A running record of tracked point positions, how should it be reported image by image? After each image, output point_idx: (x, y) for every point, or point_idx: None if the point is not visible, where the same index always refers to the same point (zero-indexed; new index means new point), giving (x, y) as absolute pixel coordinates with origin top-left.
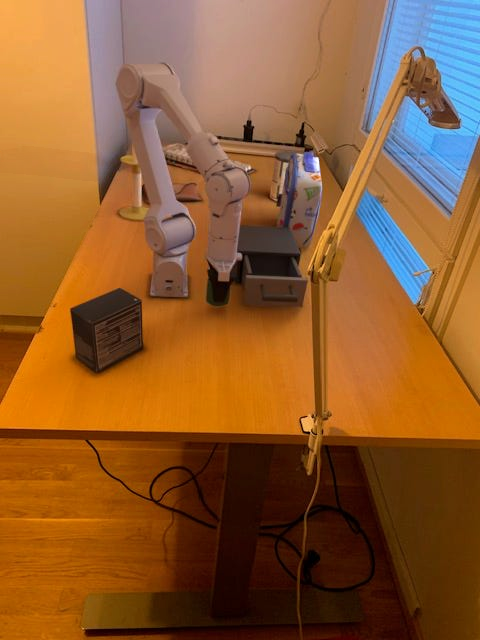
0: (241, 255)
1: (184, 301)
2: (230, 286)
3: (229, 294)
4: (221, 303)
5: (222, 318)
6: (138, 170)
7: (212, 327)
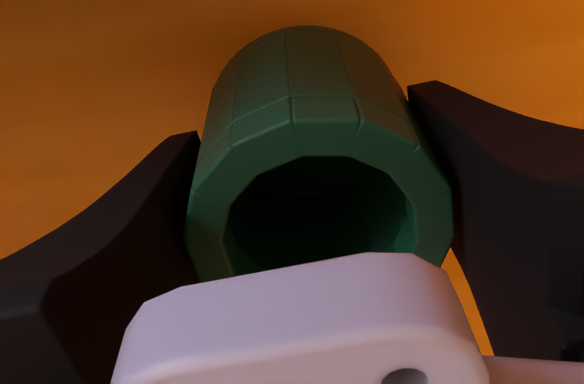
0: (309, 369)
1: None
2: (301, 86)
3: (312, 52)
4: (401, 89)
5: (397, 22)
6: None
7: (521, 73)
